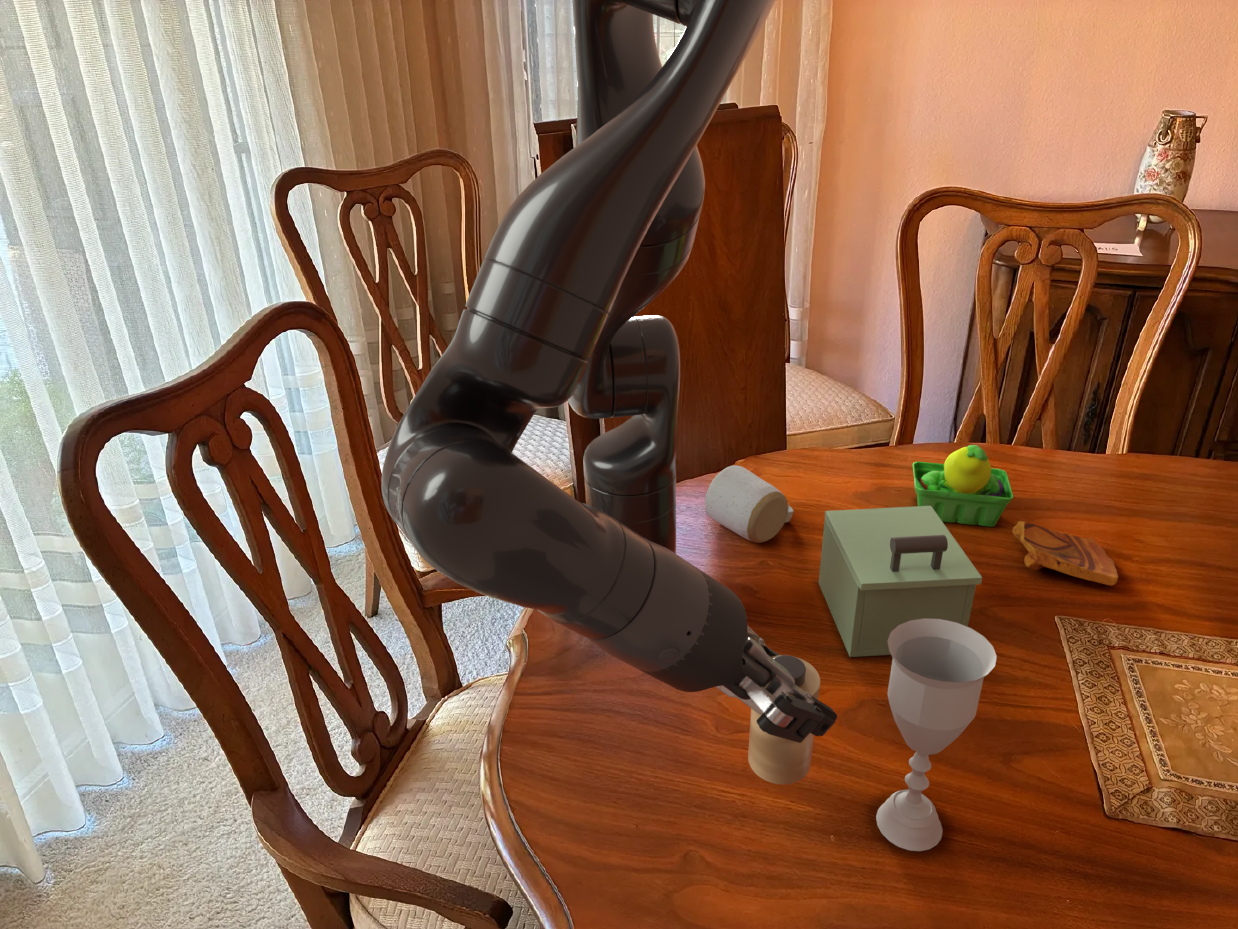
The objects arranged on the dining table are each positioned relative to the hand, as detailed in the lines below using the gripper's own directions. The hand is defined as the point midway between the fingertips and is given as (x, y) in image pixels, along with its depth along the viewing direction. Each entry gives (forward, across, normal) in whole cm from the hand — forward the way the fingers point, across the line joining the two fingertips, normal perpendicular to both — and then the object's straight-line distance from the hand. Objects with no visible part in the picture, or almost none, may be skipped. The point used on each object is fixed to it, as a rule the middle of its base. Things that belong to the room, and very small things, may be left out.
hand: (805, 698), depth 64 cm
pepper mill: (+3, 0, +5) cm, 6 cm away
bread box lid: (+18, +17, -14) cm, 29 cm away
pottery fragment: (+42, +16, -24) cm, 51 cm away
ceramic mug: (+22, +39, -4) cm, 45 cm away
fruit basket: (+40, +30, -22) cm, 54 cm away
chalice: (+14, -5, +3) cm, 15 cm away
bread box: (+25, +18, -7) cm, 31 cm away
